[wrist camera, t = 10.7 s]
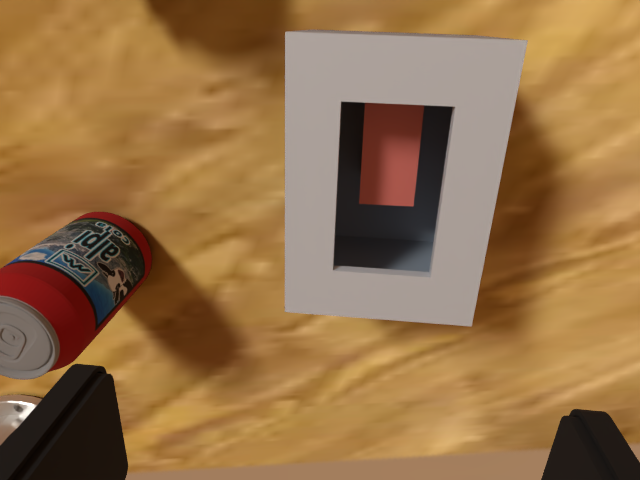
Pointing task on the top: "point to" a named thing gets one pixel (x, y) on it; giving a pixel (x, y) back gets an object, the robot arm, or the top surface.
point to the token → (390, 153)
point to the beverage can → (67, 292)
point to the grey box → (431, 183)
